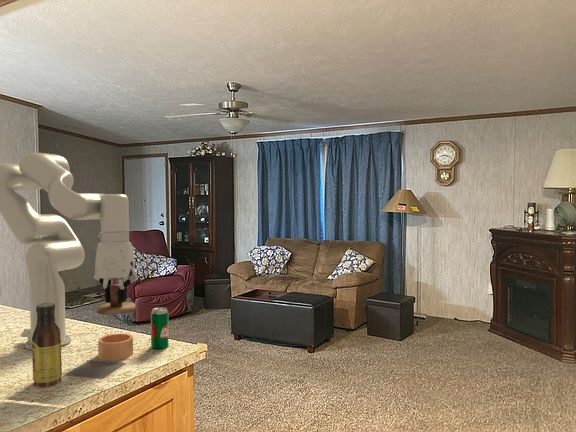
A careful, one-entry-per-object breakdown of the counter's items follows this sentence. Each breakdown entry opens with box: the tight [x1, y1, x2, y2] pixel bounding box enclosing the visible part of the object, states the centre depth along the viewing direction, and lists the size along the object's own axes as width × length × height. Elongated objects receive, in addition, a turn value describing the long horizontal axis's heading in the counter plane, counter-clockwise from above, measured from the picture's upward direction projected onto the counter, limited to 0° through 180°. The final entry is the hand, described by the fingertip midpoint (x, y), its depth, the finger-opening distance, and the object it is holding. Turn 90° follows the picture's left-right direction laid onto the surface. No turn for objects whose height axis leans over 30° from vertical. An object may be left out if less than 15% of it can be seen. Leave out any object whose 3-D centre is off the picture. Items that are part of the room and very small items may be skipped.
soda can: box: [150, 307, 170, 351], centre depth 140 cm, size 5×5×12 cm
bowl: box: [97, 333, 134, 361], centre depth 133 cm, size 9×9×5 cm
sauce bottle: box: [31, 303, 63, 388], centre depth 113 cm, size 6×6×20 cm
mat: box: [63, 359, 127, 380], centre depth 122 cm, size 11×11×1 cm
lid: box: [96, 283, 137, 316], centre depth 133 cm, size 10×10×7 cm
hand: (116, 301), depth 133 cm, fingers closed on lid, 3 cm apart
